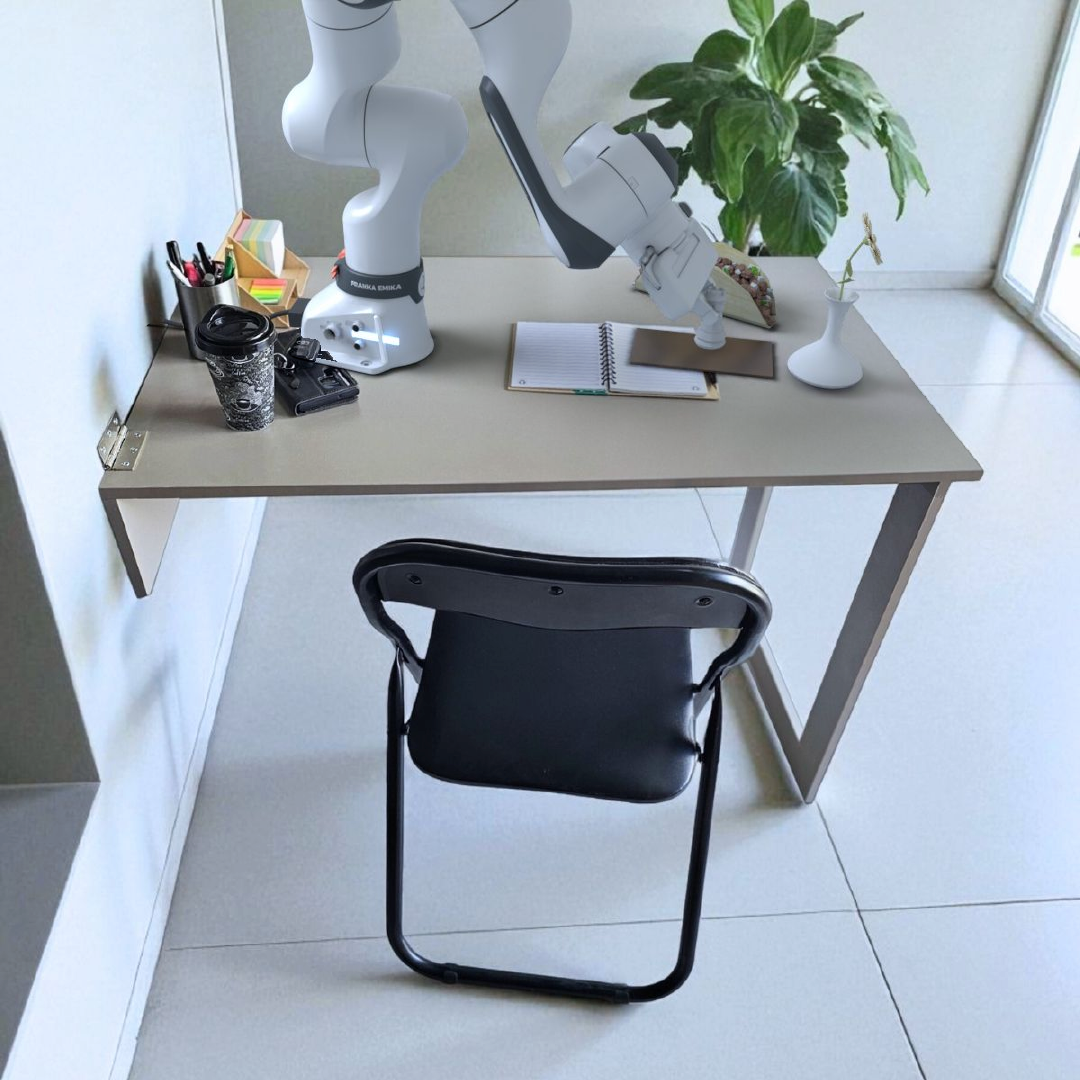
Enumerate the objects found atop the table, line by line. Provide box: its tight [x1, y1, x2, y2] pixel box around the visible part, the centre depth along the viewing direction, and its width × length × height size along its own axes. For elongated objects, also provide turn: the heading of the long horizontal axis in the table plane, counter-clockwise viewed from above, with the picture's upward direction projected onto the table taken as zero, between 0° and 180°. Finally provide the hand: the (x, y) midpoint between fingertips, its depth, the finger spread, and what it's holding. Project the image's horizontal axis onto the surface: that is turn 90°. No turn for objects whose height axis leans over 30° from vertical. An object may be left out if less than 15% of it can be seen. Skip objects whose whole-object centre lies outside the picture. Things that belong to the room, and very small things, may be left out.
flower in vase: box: [786, 211, 884, 390], centre depth 154 cm, size 13×11×25 cm
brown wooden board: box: [629, 327, 774, 380], centre depth 166 cm, size 22×12×1 cm, turn 81°
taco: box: [631, 241, 778, 329], centre depth 177 cm, size 10×27×10 cm, turn 57°
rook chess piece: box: [694, 286, 728, 350], centre depth 144 cm, size 4×4×8 cm
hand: (717, 315), depth 143 cm, fingers closed on rook chess piece, 3 cm apart
